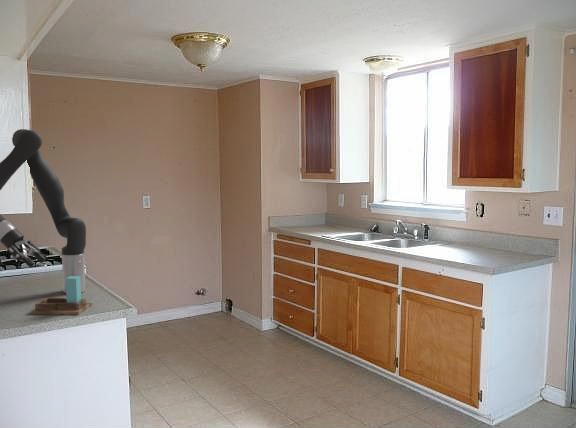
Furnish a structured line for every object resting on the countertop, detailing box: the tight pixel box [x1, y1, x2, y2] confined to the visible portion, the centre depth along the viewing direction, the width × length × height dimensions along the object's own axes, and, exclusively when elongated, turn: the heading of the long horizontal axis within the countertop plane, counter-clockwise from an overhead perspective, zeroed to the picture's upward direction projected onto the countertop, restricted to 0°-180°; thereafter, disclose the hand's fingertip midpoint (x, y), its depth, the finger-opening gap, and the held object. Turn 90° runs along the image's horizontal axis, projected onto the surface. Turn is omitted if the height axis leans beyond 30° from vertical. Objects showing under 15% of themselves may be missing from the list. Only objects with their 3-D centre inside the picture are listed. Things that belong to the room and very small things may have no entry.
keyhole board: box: [30, 297, 93, 316], centre depth 204 cm, size 13×18×4 cm
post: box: [65, 276, 82, 303], centre depth 203 cm, size 4×4×12 cm
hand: (38, 263), depth 203 cm, fingers open, 8 cm apart
